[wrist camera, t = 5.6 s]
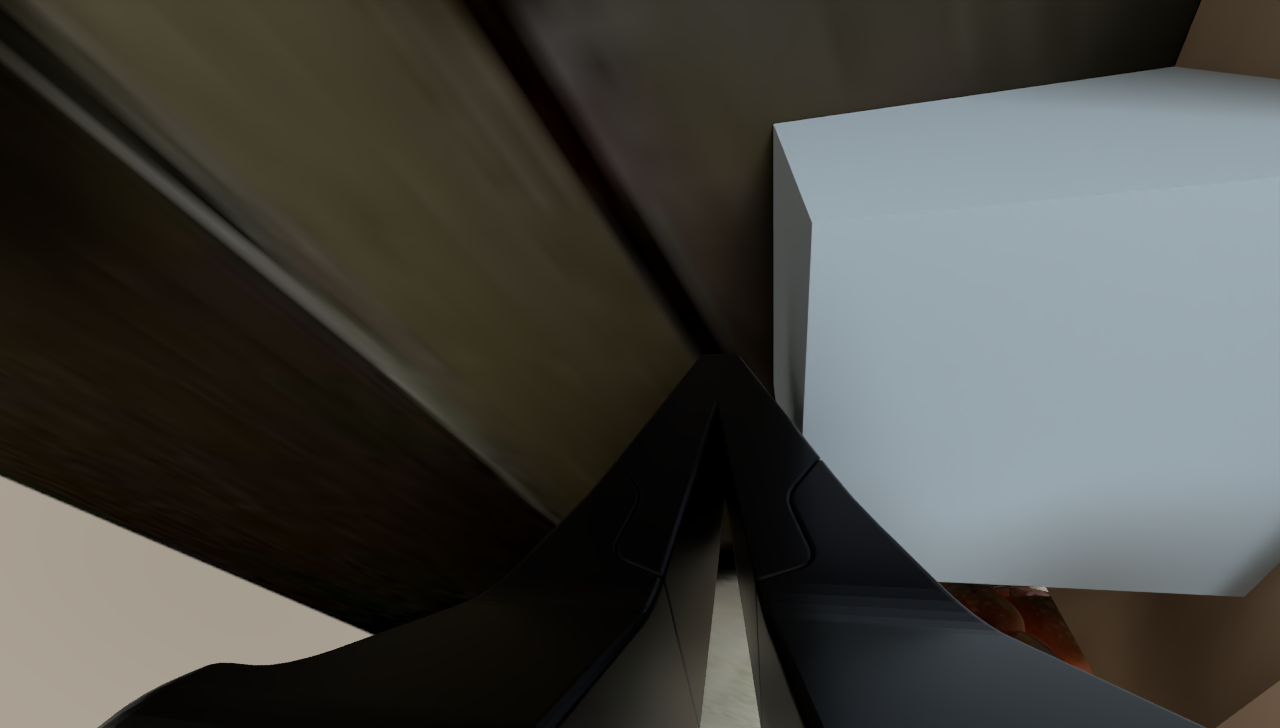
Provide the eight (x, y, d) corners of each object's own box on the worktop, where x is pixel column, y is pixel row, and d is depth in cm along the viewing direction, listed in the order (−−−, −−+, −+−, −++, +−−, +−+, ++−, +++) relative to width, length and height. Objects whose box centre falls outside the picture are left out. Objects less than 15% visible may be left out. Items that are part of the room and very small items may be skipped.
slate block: (1049, 375, 13) (1244, 596, 8) (773, 384, 14) (796, 574, 9) (1173, 66, 9) (1722, 132, 4) (773, 124, 10) (812, 224, 5)
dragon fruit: (847, 478, 18) (1021, 570, 22) (741, 676, 18) (934, 730, 22) (1134, 635, 10) (1319, 732, 14) (944, 989, 10) (1185, 981, 14)
